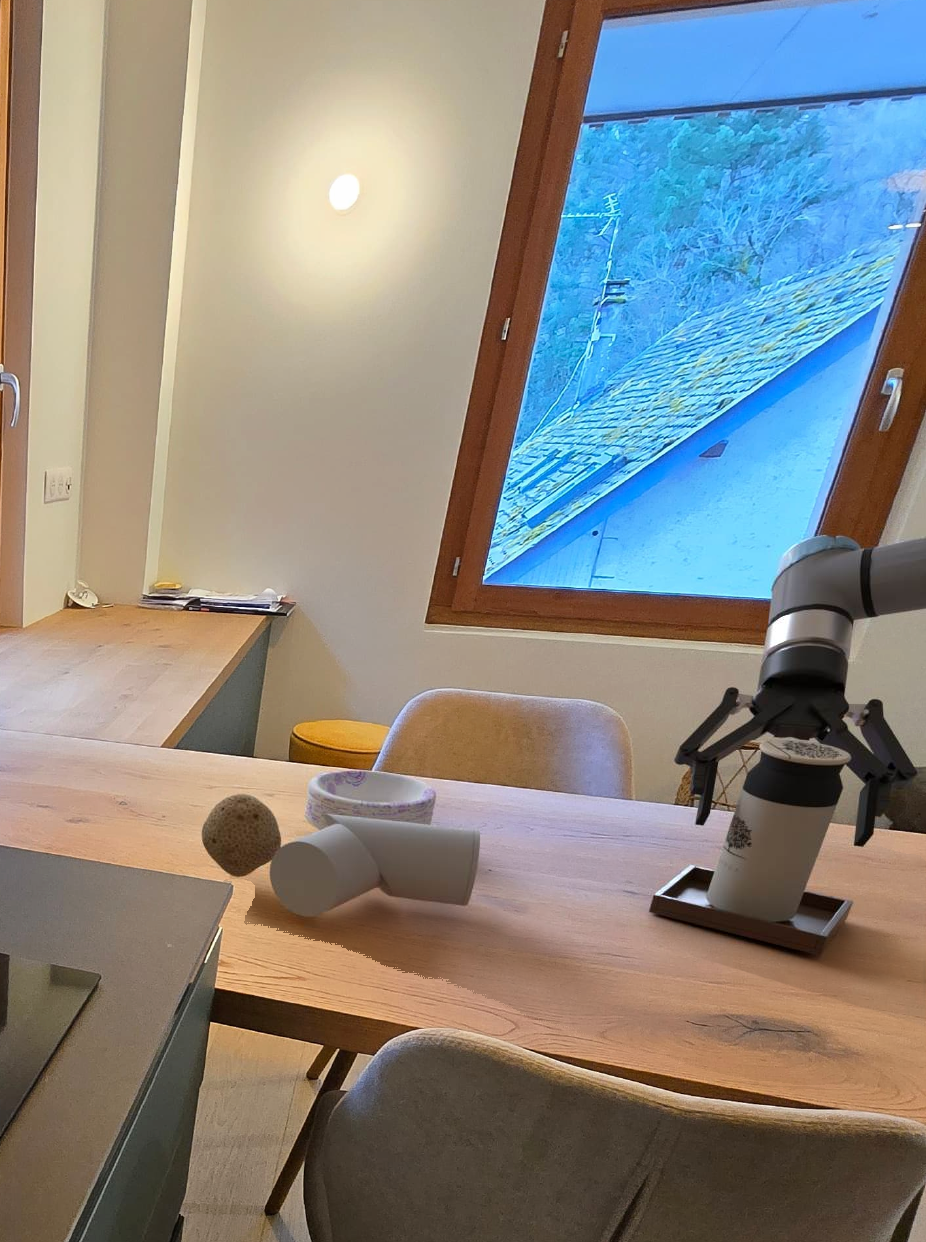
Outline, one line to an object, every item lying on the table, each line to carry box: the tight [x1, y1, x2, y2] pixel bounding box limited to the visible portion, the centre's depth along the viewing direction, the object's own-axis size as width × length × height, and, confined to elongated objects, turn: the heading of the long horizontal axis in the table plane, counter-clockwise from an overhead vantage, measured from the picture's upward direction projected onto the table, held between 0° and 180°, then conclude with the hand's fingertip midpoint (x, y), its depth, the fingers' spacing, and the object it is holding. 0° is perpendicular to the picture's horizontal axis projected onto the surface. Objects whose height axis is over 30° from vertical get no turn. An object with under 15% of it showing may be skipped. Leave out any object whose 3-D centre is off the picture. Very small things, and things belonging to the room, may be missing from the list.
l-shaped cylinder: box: [269, 814, 481, 918], centre depth 115 cm, size 18×11×20 cm
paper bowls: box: [304, 769, 437, 831], centre depth 134 cm, size 15×15×8 cm
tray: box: [648, 864, 854, 956], centre depth 114 cm, size 15×14×2 cm
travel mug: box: [706, 739, 851, 922], centre depth 110 cm, size 8×8×18 cm
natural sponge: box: [201, 793, 282, 878], centre depth 123 cm, size 9×9×10 cm
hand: (780, 829), depth 109 cm, fingers open, 13 cm apart
